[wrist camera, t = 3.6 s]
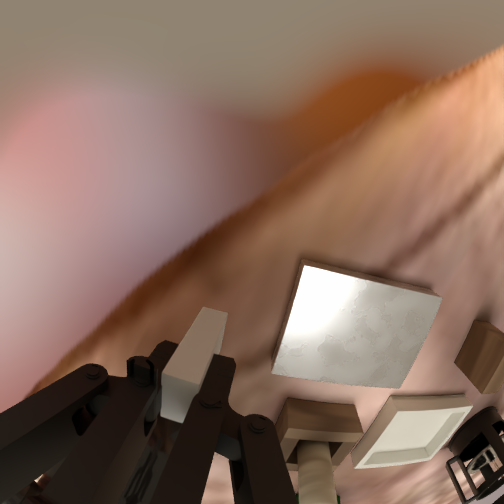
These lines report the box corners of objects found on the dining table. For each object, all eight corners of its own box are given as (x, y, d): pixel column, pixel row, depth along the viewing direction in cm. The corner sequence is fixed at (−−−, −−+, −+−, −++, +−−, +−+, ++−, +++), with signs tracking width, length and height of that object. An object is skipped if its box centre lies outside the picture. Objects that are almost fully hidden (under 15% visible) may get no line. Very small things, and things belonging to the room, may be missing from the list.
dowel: (292, 432, 24) (294, 528, 12) (301, 414, 23) (307, 517, 12) (318, 434, 24) (329, 527, 12) (329, 417, 23) (346, 516, 11)
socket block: (268, 440, 24) (267, 468, 20) (287, 397, 23) (288, 427, 19) (328, 446, 24) (333, 472, 20) (354, 405, 23) (363, 432, 19)
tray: (350, 453, 24) (353, 468, 22) (390, 395, 22) (397, 411, 20) (424, 447, 24) (429, 460, 22) (464, 394, 22) (473, 405, 19)
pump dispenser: (118, 404, 25) (55, 496, 10) (151, 353, 23) (64, 476, 8) (192, 449, 26) (158, 551, 11) (241, 409, 24) (217, 548, 9)
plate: (271, 356, 23) (271, 373, 20) (301, 256, 21) (304, 265, 18) (390, 373, 22) (399, 388, 20) (428, 287, 20) (442, 297, 18)
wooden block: (454, 362, 21) (481, 394, 15) (474, 320, 20) (508, 346, 14) (470, 363, 21) (497, 392, 15) (489, 322, 20) (521, 347, 14)
